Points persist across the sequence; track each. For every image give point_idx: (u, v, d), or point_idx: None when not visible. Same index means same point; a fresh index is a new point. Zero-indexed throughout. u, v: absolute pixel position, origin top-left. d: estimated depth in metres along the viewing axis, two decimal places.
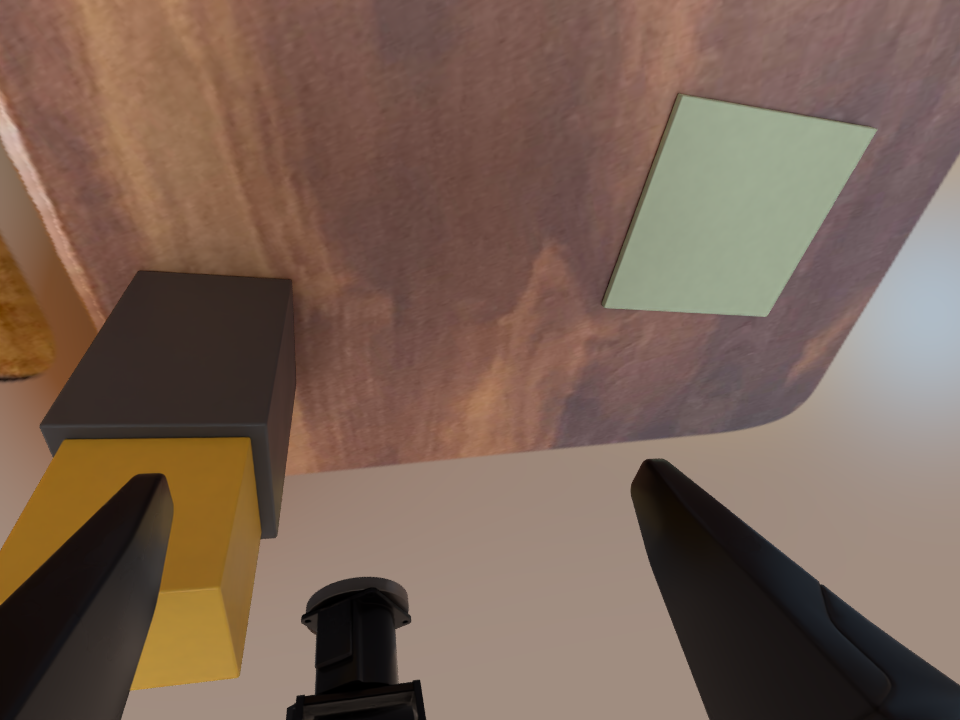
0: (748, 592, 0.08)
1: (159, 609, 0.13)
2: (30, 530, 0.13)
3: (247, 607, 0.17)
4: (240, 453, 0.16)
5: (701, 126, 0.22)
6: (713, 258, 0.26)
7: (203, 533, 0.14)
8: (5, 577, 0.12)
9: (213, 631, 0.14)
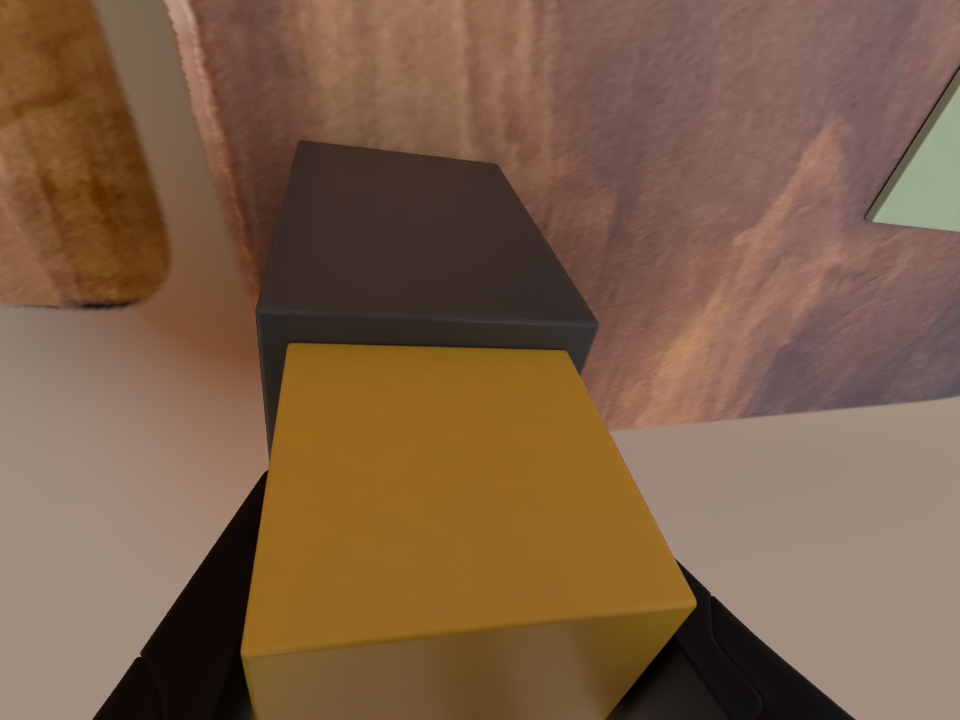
0: None
1: (572, 647, 0.06)
2: (301, 490, 0.06)
3: None
4: (569, 372, 0.09)
5: None
6: None
7: (602, 498, 0.07)
8: (293, 585, 0.06)
9: (616, 683, 0.07)
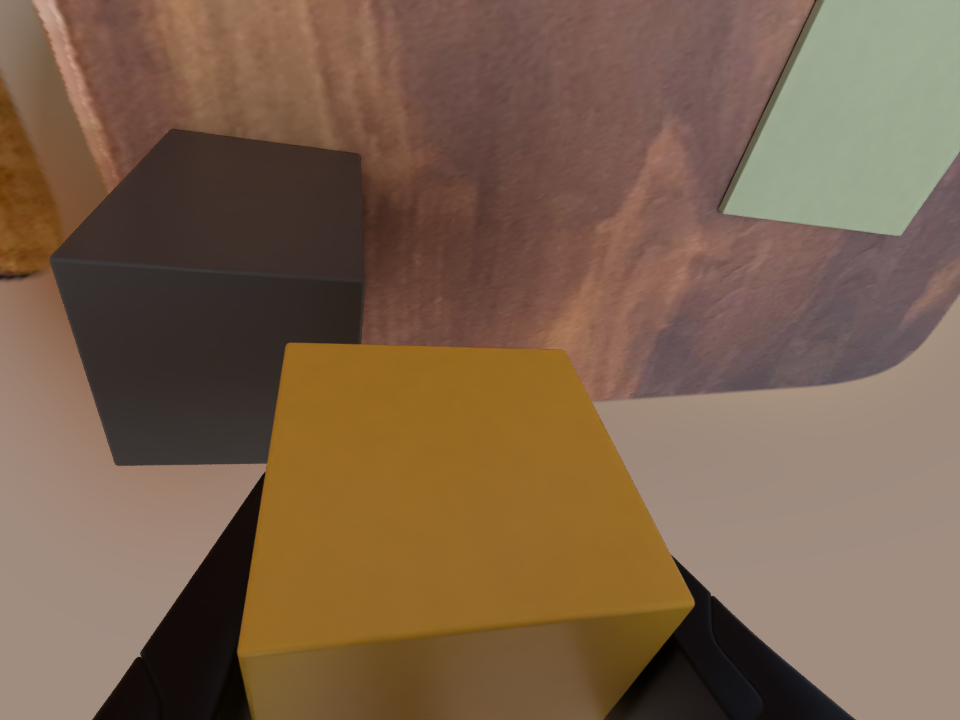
0: None
1: (571, 648, 0.06)
2: (298, 490, 0.06)
3: None
4: (568, 372, 0.09)
5: None
6: (857, 152, 0.22)
7: (599, 499, 0.07)
8: (290, 585, 0.06)
9: (614, 683, 0.07)
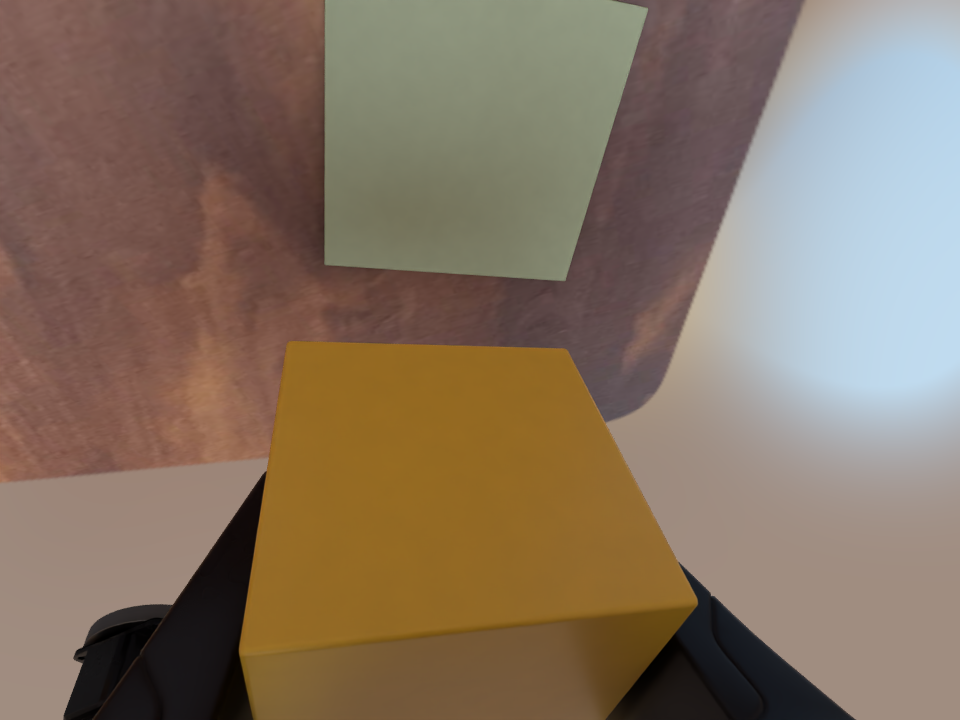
0: None
1: (573, 647, 0.06)
2: (300, 488, 0.06)
3: None
4: (569, 370, 0.09)
5: None
6: (461, 197, 0.20)
7: (601, 498, 0.07)
8: (291, 584, 0.05)
9: (616, 683, 0.07)
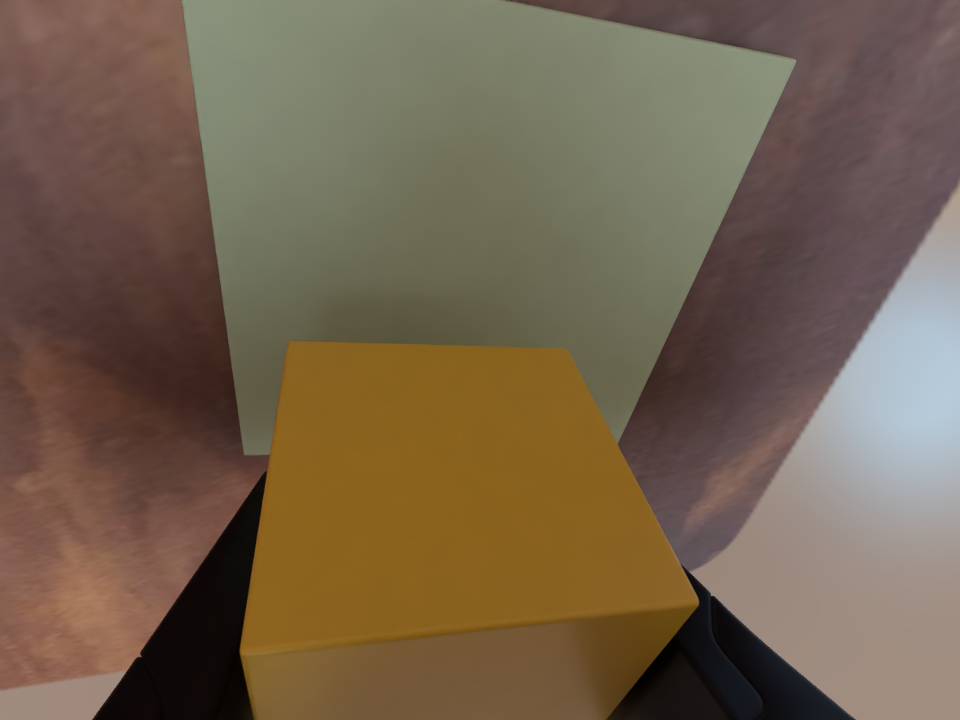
0: None
1: (574, 646, 0.06)
2: (301, 488, 0.06)
3: None
4: (570, 370, 0.09)
5: (283, 38, 0.08)
6: None
7: (603, 497, 0.07)
8: (292, 584, 0.05)
9: (617, 683, 0.07)
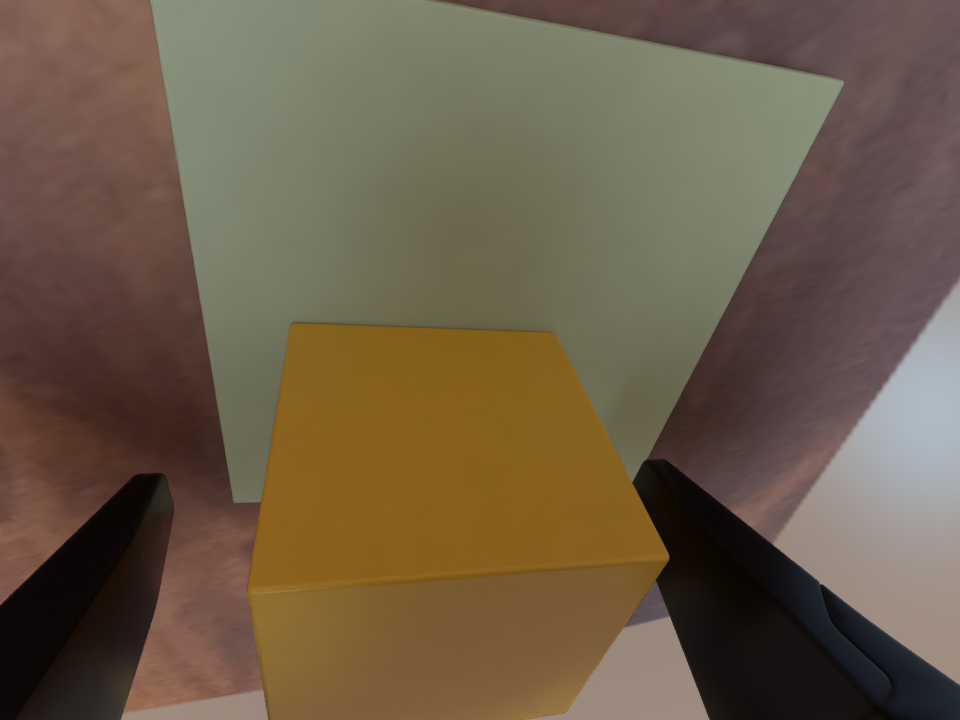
0: (748, 592, 0.08)
1: (554, 598, 0.07)
2: (302, 453, 0.07)
3: None
4: (557, 352, 0.10)
5: (271, 62, 0.07)
6: None
7: (584, 466, 0.08)
8: (295, 534, 0.06)
9: (597, 639, 0.08)
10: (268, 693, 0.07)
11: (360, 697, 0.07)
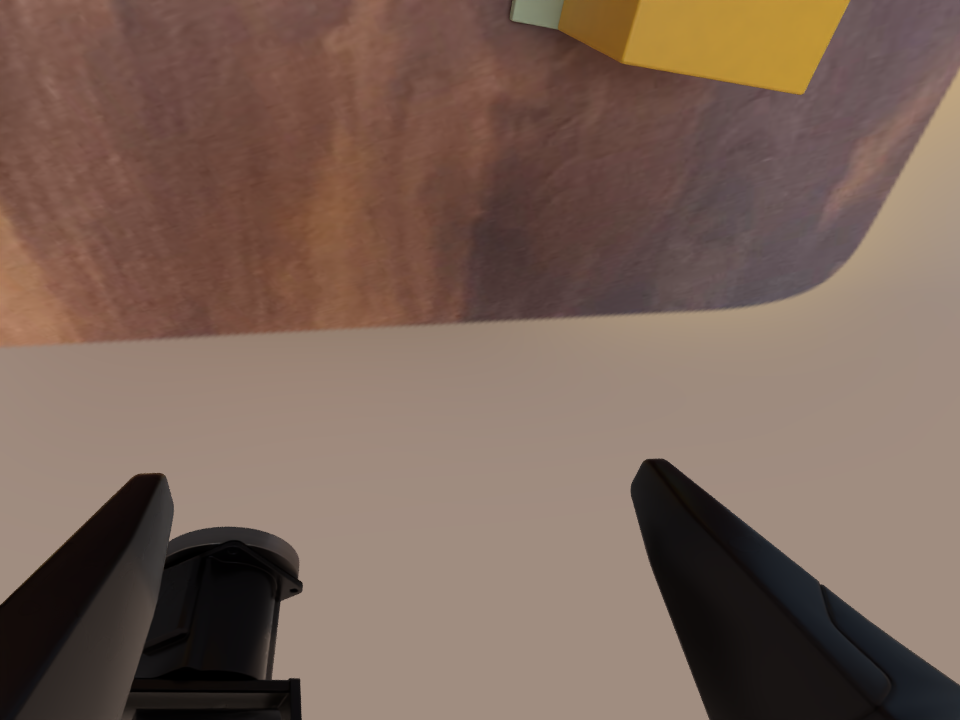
0: (748, 592, 0.08)
1: None
2: None
3: None
4: None
5: None
6: None
7: None
8: None
9: None
10: None
11: None
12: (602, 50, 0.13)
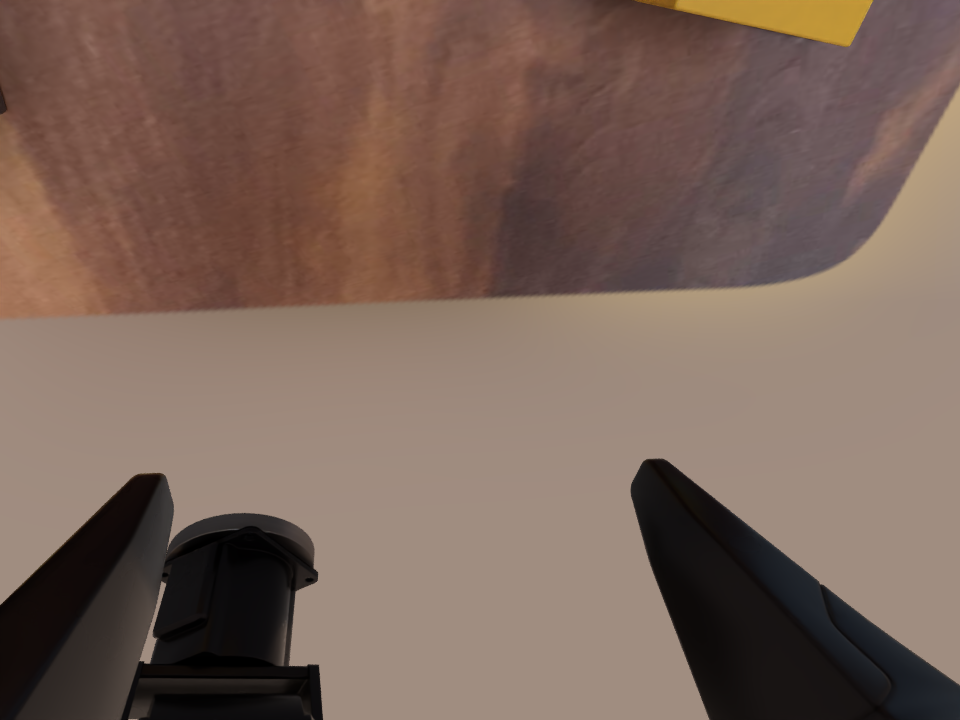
0: (748, 592, 0.08)
1: None
2: None
3: None
4: None
5: None
6: None
7: None
8: None
9: None
10: None
11: None
12: (651, 1, 0.13)
